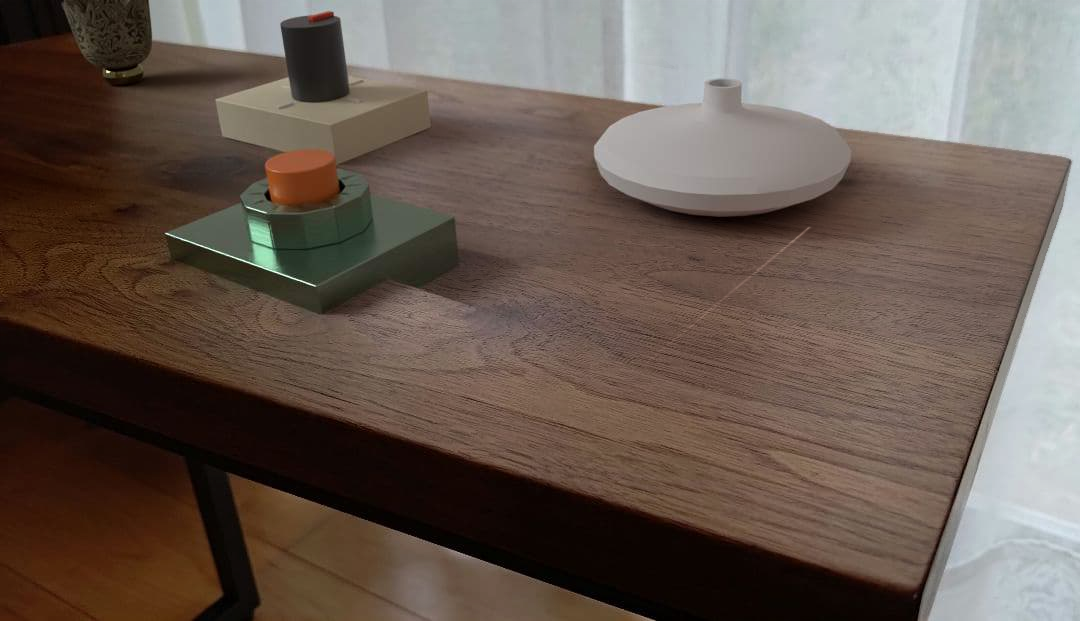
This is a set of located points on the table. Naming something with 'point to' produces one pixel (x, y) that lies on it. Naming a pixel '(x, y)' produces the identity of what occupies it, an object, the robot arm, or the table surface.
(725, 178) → the vase
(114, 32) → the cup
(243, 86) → the table surface
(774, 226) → the table surface
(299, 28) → the dial
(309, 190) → the orange push button
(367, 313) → the table surface
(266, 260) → the button base
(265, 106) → the dial panel
